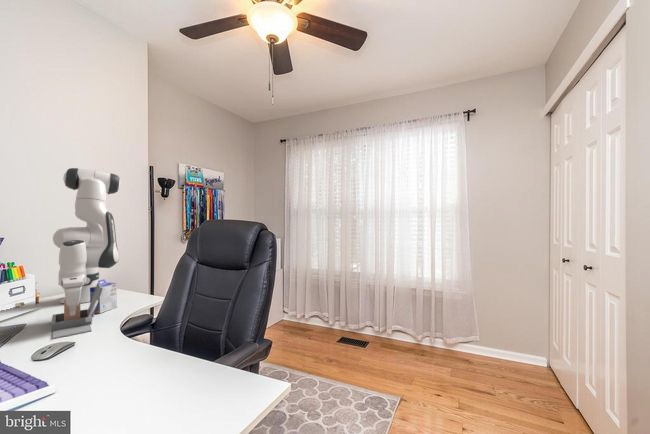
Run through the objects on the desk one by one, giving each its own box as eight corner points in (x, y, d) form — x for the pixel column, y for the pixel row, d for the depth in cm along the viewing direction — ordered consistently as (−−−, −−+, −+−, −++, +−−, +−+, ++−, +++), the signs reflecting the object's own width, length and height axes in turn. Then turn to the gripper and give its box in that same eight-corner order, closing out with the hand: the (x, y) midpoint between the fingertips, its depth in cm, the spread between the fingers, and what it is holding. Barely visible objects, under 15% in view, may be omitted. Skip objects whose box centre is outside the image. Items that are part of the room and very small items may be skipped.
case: (52, 321, 120) (53, 287, 120) (99, 313, 130) (99, 281, 130) (51, 333, 108) (52, 295, 108) (102, 323, 119) (103, 288, 119)
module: (63, 322, 119) (64, 297, 119) (79, 320, 122) (80, 295, 122) (63, 326, 115) (64, 300, 115) (80, 323, 118) (80, 298, 118)
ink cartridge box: (107, 306, 140) (107, 277, 140) (117, 307, 140) (118, 278, 140) (88, 313, 131) (89, 282, 131) (99, 314, 130) (100, 282, 130)
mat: (53, 332, 109) (53, 331, 109) (90, 325, 116) (90, 324, 116) (52, 339, 103) (52, 337, 103) (91, 331, 111) (91, 330, 111)
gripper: (62, 276, 124) (62, 307, 124) (62, 284, 109) (61, 320, 109) (81, 274, 128) (81, 304, 128) (83, 282, 113) (83, 316, 113)
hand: (72, 312), depth 119 cm, fingers open, 8 cm apart
